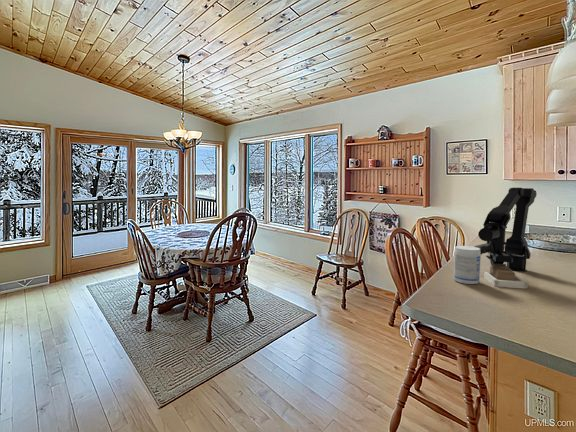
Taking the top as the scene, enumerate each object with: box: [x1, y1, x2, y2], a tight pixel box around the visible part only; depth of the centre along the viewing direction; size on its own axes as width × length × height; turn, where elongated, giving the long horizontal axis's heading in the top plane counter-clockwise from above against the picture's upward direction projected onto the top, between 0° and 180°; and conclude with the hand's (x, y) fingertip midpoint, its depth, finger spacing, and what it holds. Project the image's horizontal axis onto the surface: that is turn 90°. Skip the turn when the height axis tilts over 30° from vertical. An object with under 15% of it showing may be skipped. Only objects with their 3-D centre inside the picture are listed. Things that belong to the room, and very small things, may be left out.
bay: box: [483, 271, 529, 290], centre depth 125 cm, size 12×11×2 cm
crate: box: [489, 263, 516, 281], centre depth 127 cm, size 9×6×7 cm, turn 163°
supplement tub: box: [453, 245, 482, 285], centre depth 127 cm, size 10×10×15 cm
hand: (494, 272), depth 134 cm, fingers closed
